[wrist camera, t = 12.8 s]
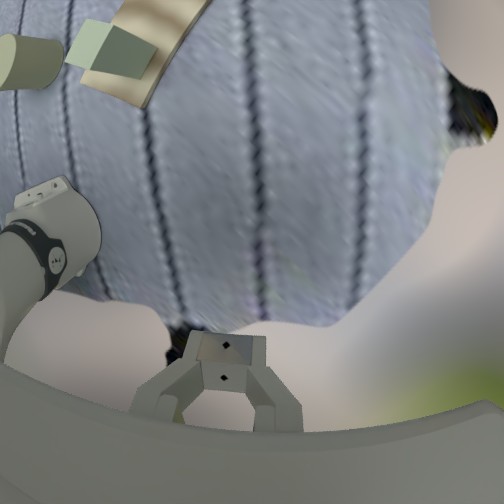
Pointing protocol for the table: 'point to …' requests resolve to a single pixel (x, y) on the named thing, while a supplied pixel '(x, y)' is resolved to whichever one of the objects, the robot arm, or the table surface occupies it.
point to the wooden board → (154, 32)
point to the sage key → (110, 50)
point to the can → (28, 62)
